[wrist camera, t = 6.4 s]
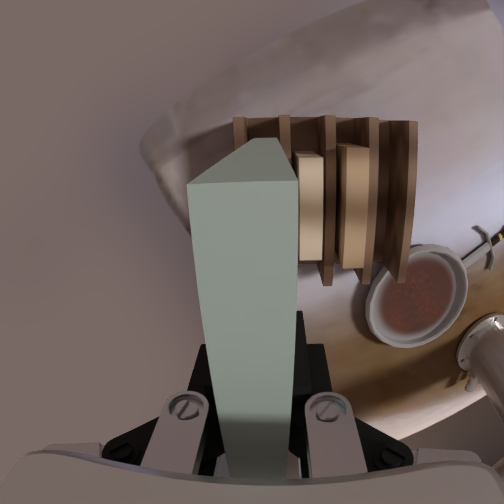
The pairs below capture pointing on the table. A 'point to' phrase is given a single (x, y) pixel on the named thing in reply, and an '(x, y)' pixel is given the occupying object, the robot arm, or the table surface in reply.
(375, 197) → the rack
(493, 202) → the table surface
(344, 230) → the offcut dark
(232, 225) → the tall sheet
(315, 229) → the offcut light
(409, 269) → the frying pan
